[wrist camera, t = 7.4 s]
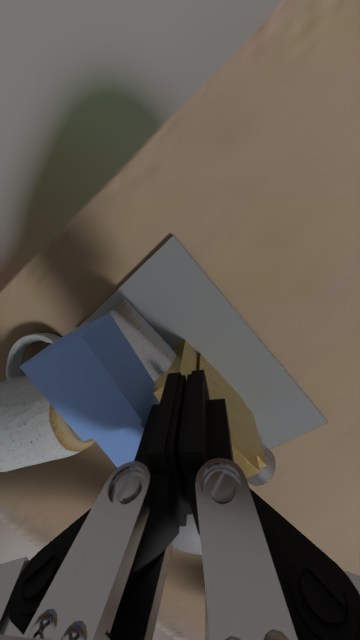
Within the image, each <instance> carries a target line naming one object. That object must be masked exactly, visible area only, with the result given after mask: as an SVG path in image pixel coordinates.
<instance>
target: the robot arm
mask: <svg viewBox="0 0 360 640" xmlns="http://www.w3.org/2000/svg"><path fill="white" fill-rule="evenodd" d="M191 514H193V517H194V521H195V524H196V528H197V531H198V534H199V535H200V541H201V551H202V554H200V555H201V556H202V561H203V571H204V581H205V640H360V576H359V575H356V574H353V573H350V572H346V571H343V570H342V569H341V568H340V567H339V566H338V565H337V564H336V563H335V562H334V561H333V560H332V559H330V558H329V557H328V556H327V555H326V554H325V553H324V552H322V551H321V550H320V549H319V548H318V547H317V546H315V545H314V544H313V543H312V542H311V541H310V540H309V539H307V538H306V537H305V536H304V535H303V534H302V533H301V532H299V531H298V530H297V529H296V528H295V527H294V526H293V525H291V524H290V523H289V522H288V521H287V520H286V519H285V518H283V517H282V516H281V515H280V514H279V513H278V512H276V511H275V510H274V509H273V508H272V507H271V506H270V505H268V504H267V503H266V502H265V501H264V500H263V499H262V498H260V497H259V496H258V495H257V494H256V493H255V492H254V491H252V490H251V489H250V488H249V485H248V482H247V479H246V477H245V475H244V472H243V470H242V469H241V468H240V467H239V466H238V465H237V464H236V463H234V459H233V451H232V443H231V435H230V427H229V420H228V414H227V407H226V401H225V398H224V399H212V400H210V397H209V392H208V386H207V381H206V376H205V371H204V370H195V371H192V373H191V374H188V375H187V380H186V376H185V375H181V373H180V372H177V373H169V374H168V375H167V379H166V382H165V386H164V389H163V393H162V397H161V400H160V404H154V405H152V407H151V410H150V413H149V416H148V419H147V422H146V425H145V428H144V431H143V435H142V438H141V441H140V444H139V447H138V450H137V453H136V456H135V459H134V461H131V462H128V463H125V464H123V465H121V466H120V467H118V468H117V469H116V470H115V471H114V472H113V473H112V474H111V475H110V476H109V478H108V479H107V481H106V483H105V485H104V486H103V488H102V490H101V492H100V494H99V496H98V498H97V499H96V501H95V503H94V505H93V507H92V508H91V509H90V510H88V511H87V512H86V513H85V514H84V515H82V516H81V517H80V518H79V519H78V520H76V521H75V522H74V523H73V524H72V525H70V526H69V527H68V528H67V529H66V530H64V531H63V532H62V533H61V534H60V535H58V536H57V537H56V538H55V539H54V540H52V541H51V542H50V543H49V544H48V545H46V546H45V547H44V548H43V549H42V550H40V551H39V552H38V553H37V554H36V555H35V556H34V557H33V558H32V559H31V560H28V559H27V557H24V558H21V559H17V560H13V561H10V562H6V563H3V564H0V640H152V638H153V634H154V630H155V625H156V621H157V616H158V611H159V607H160V602H161V598H162V593H163V589H164V584H165V579H166V575H167V570H168V566H169V561H170V557H171V552H172V544H173V540H174V539H175V537H176V536H177V535H178V534H179V528H180V526H186V522H187V515H191Z"/></svg>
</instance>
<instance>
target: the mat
mask: <svg viewBox="0 0 360 640" xmlns="http://www.w3.org/2000/svg"><path fill="white" fill-rule="evenodd" d="M124 299H126V301H127V302H128V303H129V304H130V305H131V306H132V307H133V308H134V309H135V310H136V311H137V312H138V313H139V314H140V315H141V316H142V317H143V318H144V319H145V320H146V321H147V322H148V323H149V324H150V326H151V327H152V328H153V329H154V330H155V331H156V332H157V333H158V334H159V335H160V336H161V337H162V338H163V339H164V340H165V341H166V342H167V343H168V344H169V345H170V346H171V347H172V348H173V349H174V348H175V347H177V346H178V345H179V344H181V343H182V342H183V341H185V340H186V341H187V342H188V343H189V344H190V345H191V346H192V347H193V349H194V350H195V351H196V352H197V355H198V354H200V353H201V354H202V355H203V356H204V357H205V358H206V359H207V361H208V362H209V363H210V364H211V365H212V366H213V367H214V368H215V369H216V370H217V371H218V372H219V373H220V375H221V376H222V377H223V378H224V379H225V380H226V381H227V382H228V383H229V384H230V385H231V386H232V388H233V389H234V390H235V391H236V392H237V393H238V394H239V395H240V396H241V397H242V398H243V399H244V403H245V404H246V406H247V407H248V408H249V409H250V410H251V411H252V412H253V414H254V418H255V422H256V426H257V429H258V433H259V437H260V440H261V441H262V442H263V443H264V444H265V445H266V447H267V448H268V449H271V448H273V447H275V446H278V445H280V444H282V443H284V442H287V441H289V440H291V439H293V438H295V437H298V436H300V435H302V434H304V433H306V432H309V431H311V430H313V429H315V428H318V427H320V426H322V425H324V424H326V423H328V421H327V420H326V419H325V418H324V416H323V415H322V414H321V413H320V411H319V410H318V409H317V408H316V407H315V405H314V404H313V403H312V402H311V401H310V399H309V398H308V397H307V396H306V395H305V393H304V392H303V391H302V390H301V388H300V387H299V386H298V385H297V384H296V382H295V381H294V380H293V379H292V378H291V376H290V375H289V374H288V373H287V372H286V370H285V369H284V368H283V367H282V366H281V364H280V363H279V362H278V361H277V359H276V358H275V357H274V356H273V355H272V353H271V352H270V351H269V350H268V349H267V347H266V346H265V345H264V344H263V343H262V341H261V340H260V339H259V338H258V336H257V335H256V334H255V333H254V332H253V330H252V329H251V328H250V327H249V326H248V324H247V323H246V322H245V321H244V320H243V318H242V317H241V316H240V315H239V313H238V312H237V311H236V310H235V309H234V307H233V306H232V305H231V304H230V303H229V301H228V300H227V299H226V298H225V297H224V295H223V294H222V293H221V292H220V291H219V289H218V288H217V287H216V286H215V284H214V283H213V282H212V281H211V280H210V278H209V277H208V276H207V275H206V274H205V272H204V271H203V270H202V269H201V268H200V266H199V265H198V264H197V263H196V261H195V260H194V259H193V258H192V257H191V255H190V254H189V253H188V252H187V251H186V249H185V248H184V247H183V246H182V245H181V243H180V242H179V241H178V240H177V239H176V237H175V236H174V235H173V236H172V237H171V238H170V239H169V240H168V241H167V242H166V243H165V244H164V245H163V246H162V247H161V248H160V249H159V250H158V251H157V252H156V253H155V254H154V255H153V256H152V257H150V258H149V259H148V260H147V261H146V262H145V263H144V264H143V265H142V266H141V267H140V268H139V269H138V270H137V271H136V272H135V273H134V274H133V275H132V276H131V277H130V278H129V279H128V280H127V281H126V282H125V283H124V284H123V285H122V286H121V287H119V288H118V289H117V290H116V291H115V292H114V293H113V294H112V295H111V296H110V297H109V298H108V299H107V300H106V301H105V302H104V303H103V304H102V305H101V306H100V307H99V308H98V309H97V310H96V311H95V312H94V313H93V314H92V315H91V316H90V317H88V318H87V319H86V320H85V321H84V322H83V323H82V324H81V325H80V326H79V327H78V328H77V329H79V328H81V327H83V326H85V325H87V324H89V323H91V322H93V321H95V320H97V319H99V318H101V317H103V316H105V315H107V314H108V313H109V312H110V311H111V310H112V309H114V308H115V307H116V306H117V305H118V304H119V303H120V302H122V301H123V300H124Z"/></svg>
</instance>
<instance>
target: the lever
mask: <svg viewBox="0 0 360 640" xmlns="http://www.w3.org/2000/svg"><path fill="white" fill-rule="evenodd" d="M19 367H20V368H21V369H22V371H23V372H24V373H25V374H26V375H27V376H28V378H29V379H30V380H31V381H32V382H33V383H34V385H35V386H36V387H37V388H38V389H39V391H40V392H41V393H42V394H43V395H44V396H45V398H46V399H47V400H48V401H49V402H50V403H51V405H52V406H53V407H54V408H55V409H56V411H57V412H58V413H59V414H60V415H61V416H62V418H63V419H64V420H65V421H66V422H67V424H68V425H69V426H70V427H71V428H72V429H73V431H74V432H75V433H76V434H77V435H78V436H79V438H80V439H81V440H82V441H85V440H88V439H92V438H93V439H94V440H95V441H96V443H97V444H98V445H99V446H100V447H101V449H102V450H103V451H104V452H105V454H106V455H107V456H108V457H109V458H110V460H111V461H112V462H113V463H114V464H115V466H116V467H117V468H118V467H120V466H121V465H123V464H125V463H128V462H131V461H134V459H135V456H136V453H137V450H138V447H139V444H140V441H141V438H142V435H143V431H144V428H145V425H146V422H147V419H148V416H149V413H150V410H151V407H152V405H154V404H160V402H159V401H158V399H157V398H156V396H155V394H154V393H153V389H154V386H155V382H154V381H153V379H152V378H151V376H150V375H149V373H148V371H147V370H146V368H145V367H144V365H143V364H142V362H141V361H140V359H139V357H138V356H137V354H136V353H135V351H134V350H133V348H132V347H131V345H130V343H129V342H128V340H127V339H126V337H125V336H124V334H123V333H122V331H121V329H120V328H119V326H118V325H117V323H116V322H115V320H114V319H113V317H112V315H111V314H110V313H109V314H107V315H105V316H103V317H101V318H99V319H97V320H95V321H93V322H91V323H89V324H87V325H85V326H83V327H81V328H79V329H77V330H75V331H73V332H71V333H69V334H67V335H65V336H63V337H61V338H59V339H57V340H56V341H54V342H53V343H52V344H50V345H49V346H47V347H46V348H45V349H43V350H42V351H40V352H39V353H38V354H36V355H35V356H33V357H32V358H31V359H29V360H28V361H26V362H25V363H24V364H22V365H21V366H19ZM172 547H174V548H176V549H178V550H180V551H183V552H187V553H192V554H202V551H201V541H200V535H199V534H198V531H197V528H196V524H195V521H194V517H193V514H191V515H187V522H186V526H180V528H179V534H178V535H177V536H176V537H175V539H174V540H173V544H172Z"/></svg>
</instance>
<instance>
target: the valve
mask: <svg viewBox="0 0 360 640" xmlns="http://www.w3.org/2000/svg"><path fill="white" fill-rule="evenodd" d="M109 313H110V314H111V315H112V317H113V319H114V320H115V322H116V323H117V325H118V326H119V328H120V329H121V331H122V333H123V334H124V336H125V337H126V339H127V340H128V342H129V343H130V345H131V347H132V348H133V350H134V351H135V353H136V354H137V356H138V357H139V359H140V361H141V362H142V364H143V365H144V367H145V368H146V370H147V371H148V373H149V375H150V376H151V378H152V379H153V381H154V382H155V386H154V389H153V393H154V394H155V396H156V398H157V399H158V401H159V402H160V400H161V397H162V393H163V389H164V386H165V382H166V379H167V375H168V374H169V373H177V372H180V373H181V375H185V376H186V380H187V375H188V374H191V373H192V371H195V370H204V371H205V376H206V381H207V386H208V392H209V397H210V400H212V399H224V398H225V401H226V407H227V414H228V420H229V427H230V435H231V443H232V451H233V459H234V463H236V464H237V465H238V466H239V467H240V468H241V469H242V470H243V472H244V475H245V477H246V479H247V482H249V483H250V484H252V485H255V486H259V485H263V484H265V483H266V482H268V481H269V480H270V479H271V477H272V476H273V474H274V471H275V457H274V455H273V453H272V452H271V451H270V450H269V449H268V448H267V447H266V445H265V444H264V443H263V442H262V441H261V440H260V437H259V433H258V429H257V426H256V422H255V418H254V414H253V412H252V411H251V410H250V409H249V408H248V407H247V406H246V404H245V403H244V399H243V398H242V397H241V396H240V395H239V394H238V393H237V392H236V391H235V390H234V389H233V388H232V386H231V385H230V384H229V383H228V382H227V381H226V380H225V379H224V378H223V377H222V376H221V375H220V373H219V372H218V371H217V370H216V369H215V368H214V367H213V366H212V365H211V364H210V363H209V362H208V361H207V359H206V358H205V357H204V356H203V355H202V354H201V353H200V354H198V355H197V352H196V351H195V350H194V349H193V347H192V346H191V345H190V344H189V343H188V342H187V341H186V340H185V341H183V342H182V343H181V344H179V345H178V346H177V347H175V348H174V349H173V348H172V347H171V346H170V345H169V344H168V343H167V342H166V341H165V340H164V339H163V338H162V337H161V336H160V335H159V334H158V333H157V332H156V331H155V330H154V329H153V328H152V327H151V326H150V324H149V323H148V322H147V321H146V320H145V319H144V318H143V317H142V316H141V315H140V314H139V313H138V312H137V311H136V310H135V309H134V308H133V307H132V306H131V305H130V304H129V303H128V302H127V301H126V299H124V300H123V301H122V302H120V303H119V304H118V305H117V306H116V307H115V308H114V309H112V310H111V311H110V312H109ZM109 313H108V314H109Z"/></svg>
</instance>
